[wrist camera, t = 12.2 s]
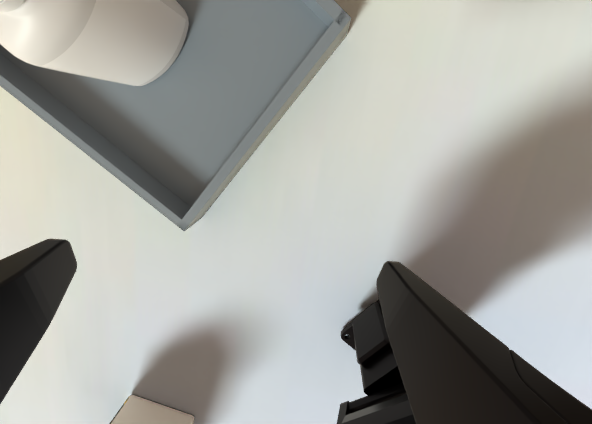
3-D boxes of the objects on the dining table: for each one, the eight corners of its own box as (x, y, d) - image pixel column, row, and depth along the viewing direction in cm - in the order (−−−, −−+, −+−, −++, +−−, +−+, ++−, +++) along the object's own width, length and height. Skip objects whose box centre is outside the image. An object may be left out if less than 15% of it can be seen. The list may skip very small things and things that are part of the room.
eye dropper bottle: (206, 66, 17) (-25, -44, 6) (129, 92, 18) (-198, 40, 7) (180, -15, 16) (-173, -350, 5) (99, 18, 17) (-358, -196, 6)
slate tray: (347, 34, 17) (351, 18, 14) (201, 217, 21) (184, 231, 19) (94, -219, 14) (42, -298, 12) (-6, 50, 19) (-60, 38, 16)
